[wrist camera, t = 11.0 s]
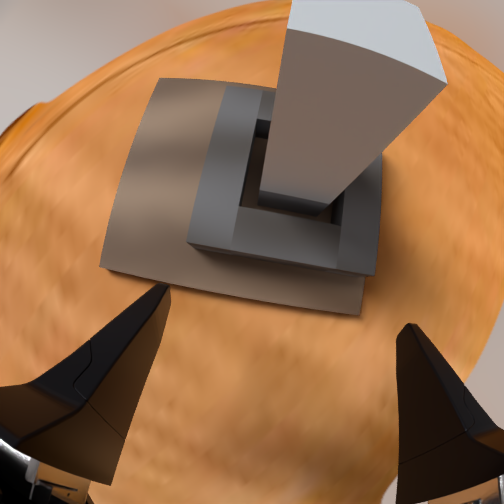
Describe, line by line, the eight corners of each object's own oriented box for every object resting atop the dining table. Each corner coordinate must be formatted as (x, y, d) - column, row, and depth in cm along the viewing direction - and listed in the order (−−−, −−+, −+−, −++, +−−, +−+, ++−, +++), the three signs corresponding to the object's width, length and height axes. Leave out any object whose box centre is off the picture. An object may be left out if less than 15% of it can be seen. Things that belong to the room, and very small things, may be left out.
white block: (316, 216, 18) (447, 84, 5) (257, 205, 18) (287, 28, 5) (322, 163, 19) (418, 7, 5) (267, 151, 19) (299, -32, 5)
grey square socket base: (353, 314, 19) (375, 319, 15) (105, 267, 19) (80, 263, 15) (368, 118, 21) (385, 96, 17) (162, 84, 21) (152, 59, 17)
